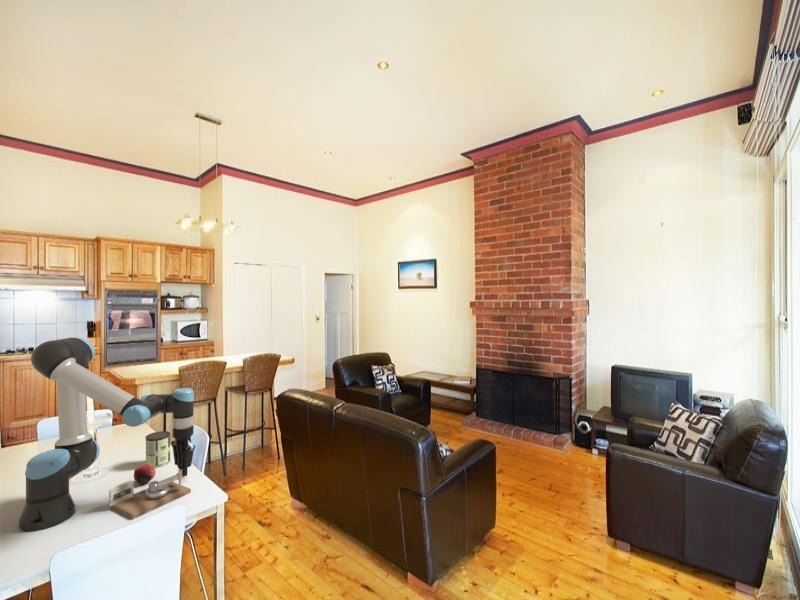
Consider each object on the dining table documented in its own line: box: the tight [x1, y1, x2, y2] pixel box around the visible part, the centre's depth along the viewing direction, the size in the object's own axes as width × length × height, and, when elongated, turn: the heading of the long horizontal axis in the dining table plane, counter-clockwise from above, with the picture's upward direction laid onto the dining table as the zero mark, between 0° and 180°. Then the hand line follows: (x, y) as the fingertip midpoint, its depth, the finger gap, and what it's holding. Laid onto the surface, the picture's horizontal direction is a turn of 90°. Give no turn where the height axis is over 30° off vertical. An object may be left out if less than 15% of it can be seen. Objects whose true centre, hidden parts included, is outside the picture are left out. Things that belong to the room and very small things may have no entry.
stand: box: [108, 481, 192, 520], centre depth 153 cm, size 23×16×8 cm
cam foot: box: [146, 472, 179, 499], centre depth 157 cm, size 14×8×5 cm, turn 151°
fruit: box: [133, 463, 156, 485], centre depth 167 cm, size 8×8×8 cm
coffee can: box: [145, 430, 171, 469], centre depth 186 cm, size 10×10×14 cm
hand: (182, 483), depth 158 cm, fingers closed
